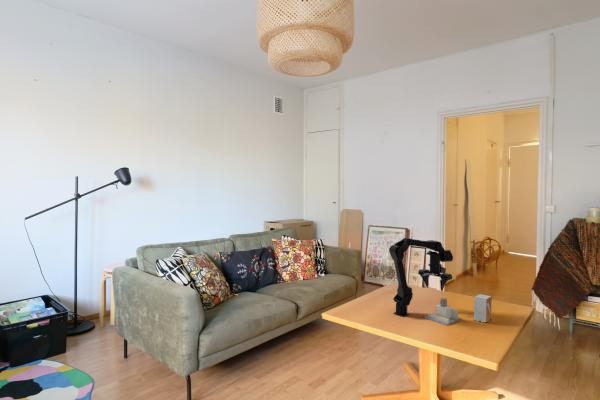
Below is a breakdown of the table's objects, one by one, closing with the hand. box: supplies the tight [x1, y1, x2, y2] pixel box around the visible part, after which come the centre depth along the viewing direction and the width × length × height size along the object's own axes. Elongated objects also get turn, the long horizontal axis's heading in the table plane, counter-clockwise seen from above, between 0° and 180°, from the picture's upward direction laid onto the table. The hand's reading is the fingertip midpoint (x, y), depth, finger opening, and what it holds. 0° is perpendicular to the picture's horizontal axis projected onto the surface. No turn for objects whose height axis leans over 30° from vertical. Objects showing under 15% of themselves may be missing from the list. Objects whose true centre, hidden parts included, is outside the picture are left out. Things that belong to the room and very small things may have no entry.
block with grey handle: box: [435, 297, 452, 319], centre depth 195 cm, size 5×6×10 cm
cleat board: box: [423, 304, 462, 326], centre depth 194 cm, size 14×14×6 cm
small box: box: [473, 293, 493, 323], centre depth 193 cm, size 8×6×13 cm
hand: (434, 289), depth 207 cm, fingers open, 9 cm apart
